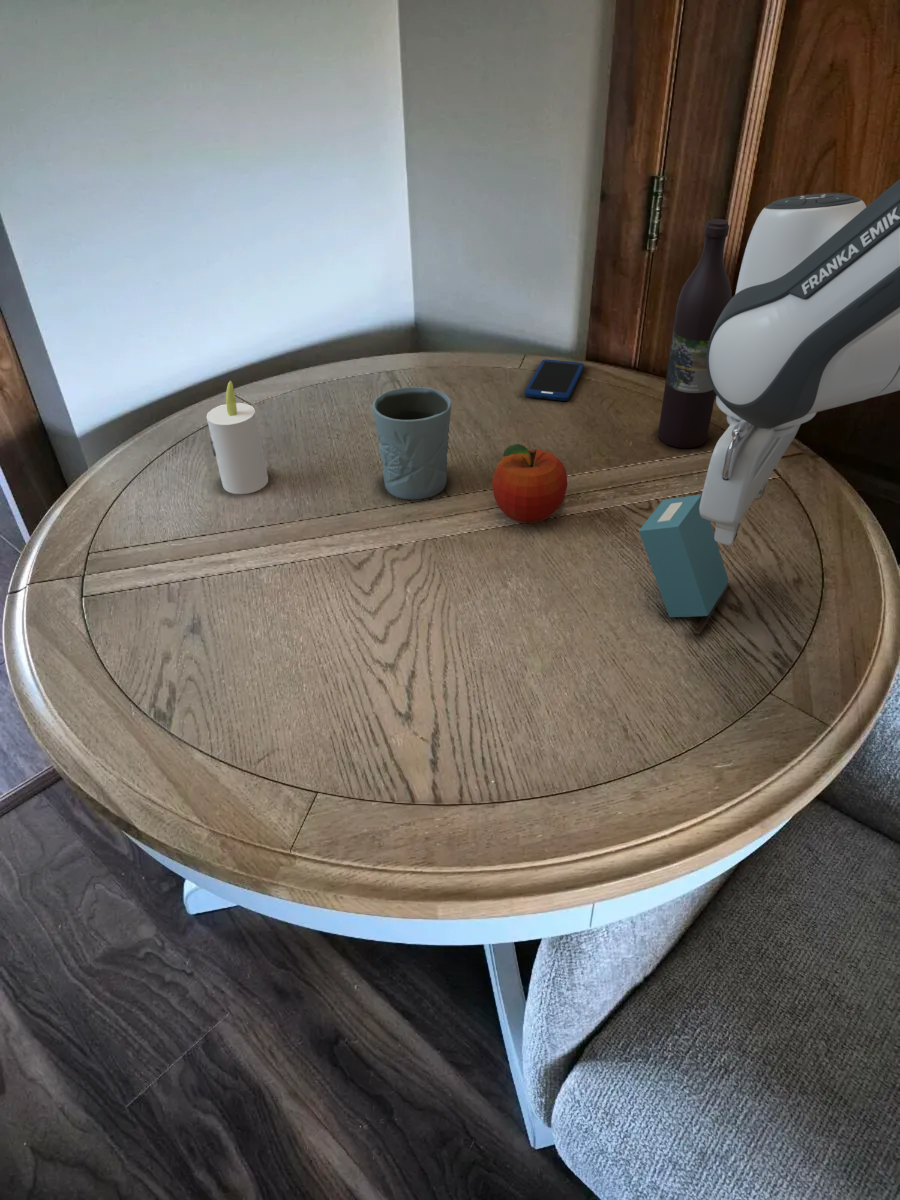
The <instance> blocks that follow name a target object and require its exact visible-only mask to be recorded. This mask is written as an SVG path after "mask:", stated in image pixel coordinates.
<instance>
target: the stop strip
mask: <svg viewBox="0 0 900 1200" xmlns="http://www.w3.org/2000/svg"><path fill="white" fill-rule="evenodd" d="M729 586H730V582H728V583H727V585H726V587H725V588H724V590H723V592H722V593H721V595H720V597H719V598H718V600H717V602H716V603H715V605H714V607H713V608H712V610H711V612H710V614H709V615H708V616H701V619H700V620H699V622H698V624H697V625H696V627H695V629H694V631H693V635H692V636H694V637H697V638H699V637H700V635H701V633H702V632H703V630H704V628H705V627H706V625H707V623H708V622H709V620H710V618H711V617H712V615H713V613H714V612H715V611H716V609H717V607H718V605H719V603H720V602H721V600H722V599H723V597H724V595H725V594H726V592H727V590H728V589H729Z"/></svg>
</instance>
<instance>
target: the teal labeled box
mask: <svg viewBox="0 0 900 1200" xmlns="http://www.w3.org/2000/svg"><path fill="white" fill-rule="evenodd" d="M701 497H702V493H701V494H695V495H687V496H686V495H685V496H679V497H672V498H664V499H662V501H661V502H660V503H659V504H658V506H657V507H656V508H655V510H654V511H653V512H652V513H651V515H650V516H649V517H648V519H646V521H645V522H644V524H642V526H641V527H640V528H639V530H638V532H639V536H640V539H641V541H642V545H643V547H644V550H645V552H646V555H647V558H648V561H649V563H650V564H649V565H650V567H651V569H652V573H653V576H654V578H655V581H656V584H657V587H658V590H659V592H660V595H661V597H662V601H663V603H664V607H665V609H666V612H667V615H668V618H690V617H692V618H693V617H703V616H708V615H709V614H710V612H711V610H712V608H713V607H714V605H715V603H716V602H717V600H718V598H719V597H720V595H721V593H722V592H723V590H724V588H725V587H726V585H727V583H730V579H729V577H728V574H727V571H726V567H725V564H724V560H723V558H722V554H721V551H720V548H719V544H718V542H716V541H715V539H714V536H715V531H714V529H713V526H712V521H708V520H706V519H703V518H702V517H701V515H700V511H699V506H700V501H701Z"/></svg>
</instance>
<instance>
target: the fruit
mask: <svg viewBox="0 0 900 1200" xmlns="http://www.w3.org/2000/svg"><path fill="white" fill-rule="evenodd" d="M502 456H503V458H502V459H500V461H498V463H497V466H496V467H495V469H494V472H493V474H492V478H491V485H492V486H491V487H492V491H493V492H492V494H493V498H494V500H495V503H496V505H497V506H498V508H499V510H500V511H501V512H502V513H503V515H504V516H506V517H507V518H509V519H510V520H512V521H515V522H518V523H523V524H524V523H525V524H530V523H533V524H534V523H539V522H542V521H545V520H547V519H549V518H550V517H551V516H552V515H554V513H556V511H558V510H559V508H560V507H561V505H562V503H563V502H564V500H565V496H566V493H567V489H568V475H567V469H566V466H565V465H564V463H563V462H562V461H561V460H560V459H559V458H558V456H556V455H555V454H554V453H552V452H550V451H548V450H543V449H538V448H537V449H535V448H527V447H526V446H525V445H522V444H520V443H515V444H512V445H508V447H506V449H504V452H503V454H502Z"/></svg>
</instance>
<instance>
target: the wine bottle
mask: <svg viewBox="0 0 900 1200" xmlns="http://www.w3.org/2000/svg"><path fill="white" fill-rule="evenodd" d="M729 231H730V225H729V221H728V220H726V219H722V218H711V219H708V220H707V223H706V224H705V227H704V231H703V233H704V236H705V237H704V243H703V249H702V251H701V255H700V259H699V261H698V263H697V265H696V266H695V268H694V269H693V270H692V272H691V274H690V275H689V276H688V278H687V279H686V281H685V283H684V284H683V286H682V288H681V290H680V293H679V296H678V299H677V304H676V309H675V314H674V321H673V322H674V323H673V329H672V336H671V341H670V348H669V357H668V362H667V370H666V377H665V383H664V391H663V396H662V404H661V411H660V417H659V424H658V430H657V431H658V433H657V434H658V438H659V440H660V441H661V442H663V443H664V444H665V445H667V446H670V447H674V448H677V449H678V448H679V449H693V448H697V447H700V446H702V445H704V444H705V443H706V441H707V439H708V435H709V432H710V431H709V430H710V426H711V420H712V416H713V409H714V405H715V400H716V393H715V391H714V390H713V388H712V386H711V383H710V381H709V377H708V373H707V366H706V356H707V348H708V344H709V340H710V337H711V334H712V331H713V329H714V327H715V324H716V322H717V320H718V318H719V316H720V315H721V313H722V311H723V310H724V308H725V307H726V305H727V304H728V302H729V301H730V300H731V298H732V297H733V296H732V295H733V294H732V293H733V292H732V287H731V283H730V280H729V277H728V274H727V271H726V267H725V263H724V250H725V245H726V238H727V237H728V236H729Z"/></svg>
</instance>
